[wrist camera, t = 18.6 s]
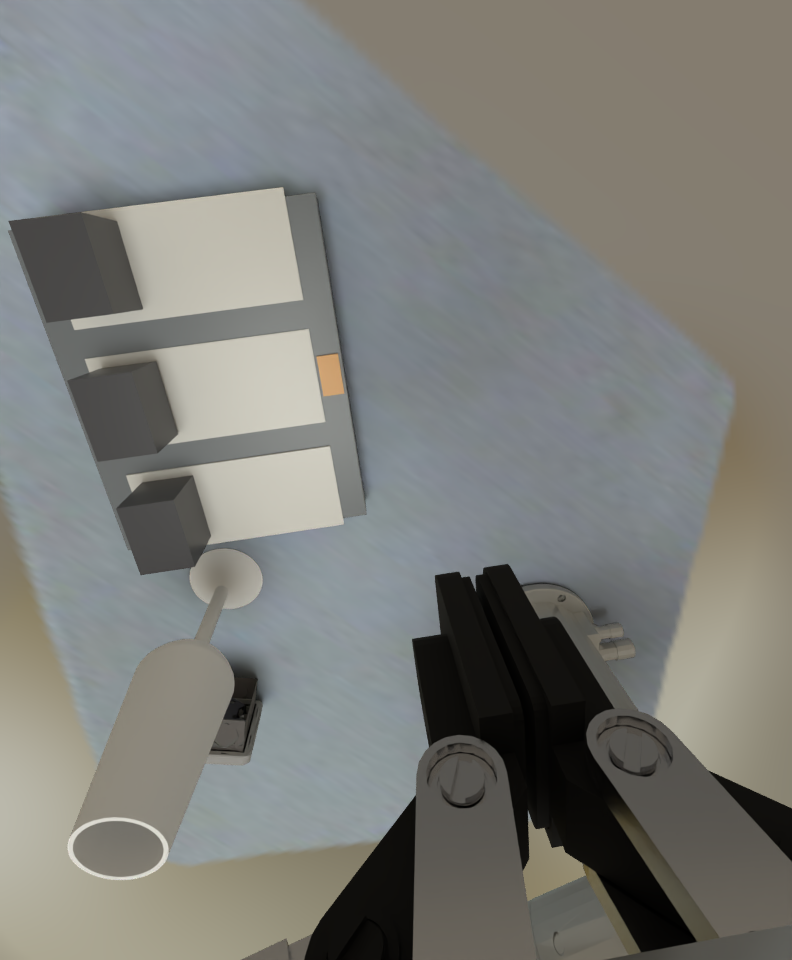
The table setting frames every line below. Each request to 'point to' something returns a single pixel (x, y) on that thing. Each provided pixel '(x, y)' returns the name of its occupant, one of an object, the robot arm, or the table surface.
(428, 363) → the table surface
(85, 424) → the block
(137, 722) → the champagne flute
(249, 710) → the electrical switch
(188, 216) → the breaker panel
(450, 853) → the robot arm
